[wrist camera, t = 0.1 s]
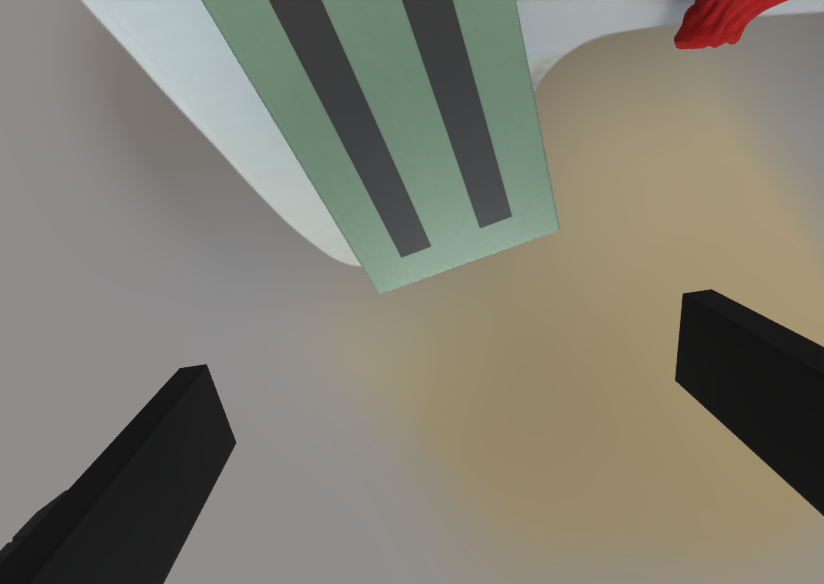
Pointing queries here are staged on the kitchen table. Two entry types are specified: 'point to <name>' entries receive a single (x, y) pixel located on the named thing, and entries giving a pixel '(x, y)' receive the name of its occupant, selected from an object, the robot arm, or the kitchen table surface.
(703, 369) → the robot arm
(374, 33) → the toaster
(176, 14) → the kitchen table surface
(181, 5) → the kitchen table surface
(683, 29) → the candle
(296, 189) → the kitchen table surface
